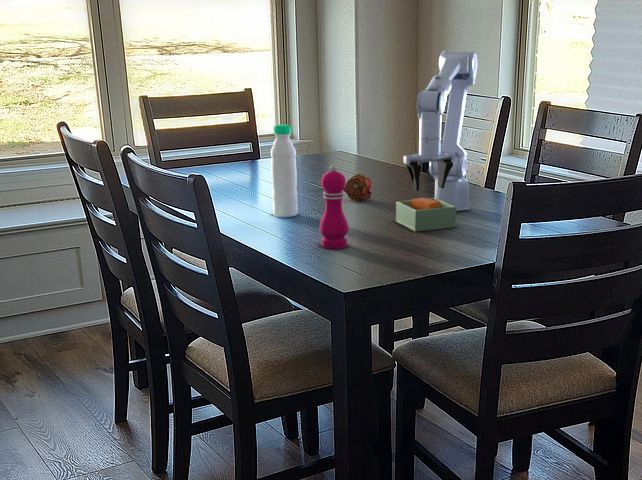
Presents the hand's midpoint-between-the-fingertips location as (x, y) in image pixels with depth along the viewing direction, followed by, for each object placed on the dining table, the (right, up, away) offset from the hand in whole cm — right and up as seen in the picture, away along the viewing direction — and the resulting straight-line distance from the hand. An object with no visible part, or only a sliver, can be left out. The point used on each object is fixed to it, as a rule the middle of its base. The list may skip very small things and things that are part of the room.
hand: (428, 188), depth 231 cm
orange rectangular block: (-1, -9, +2) cm, 9 cm away
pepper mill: (-25, -18, -18) cm, 36 cm away
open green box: (-1, -9, +2) cm, 10 cm away
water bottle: (-40, -5, +12) cm, 42 cm away
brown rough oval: (-19, +3, +31) cm, 36 cm away
